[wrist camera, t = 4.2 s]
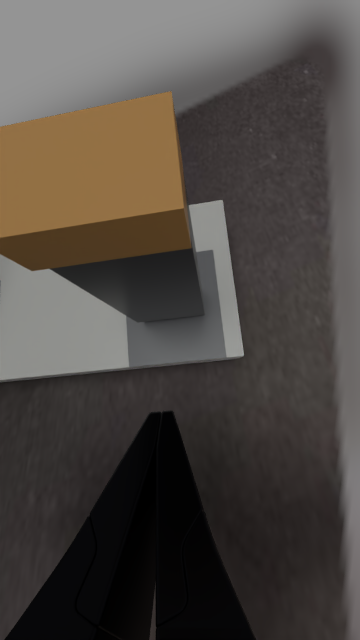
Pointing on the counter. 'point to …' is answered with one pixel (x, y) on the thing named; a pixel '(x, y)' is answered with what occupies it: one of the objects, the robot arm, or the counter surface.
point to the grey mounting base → (116, 318)
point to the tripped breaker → (104, 205)
